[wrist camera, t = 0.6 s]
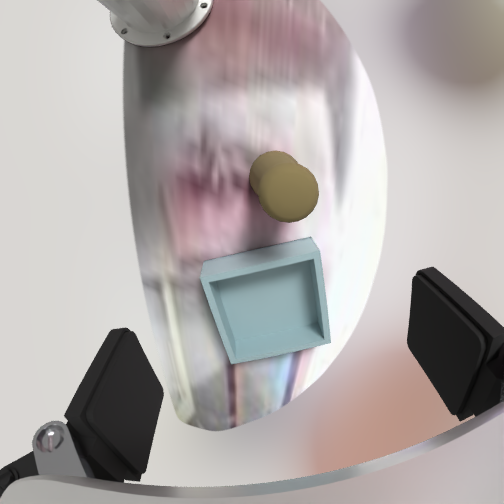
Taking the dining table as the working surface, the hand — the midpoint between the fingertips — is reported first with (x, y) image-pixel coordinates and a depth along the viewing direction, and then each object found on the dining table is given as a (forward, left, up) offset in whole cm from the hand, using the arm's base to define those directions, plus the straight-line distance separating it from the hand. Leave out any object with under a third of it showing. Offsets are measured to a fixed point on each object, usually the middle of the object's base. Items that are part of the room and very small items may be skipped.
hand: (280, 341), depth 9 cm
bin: (+15, -1, -27) cm, 31 cm away
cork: (0, +3, -27) cm, 27 cm away
